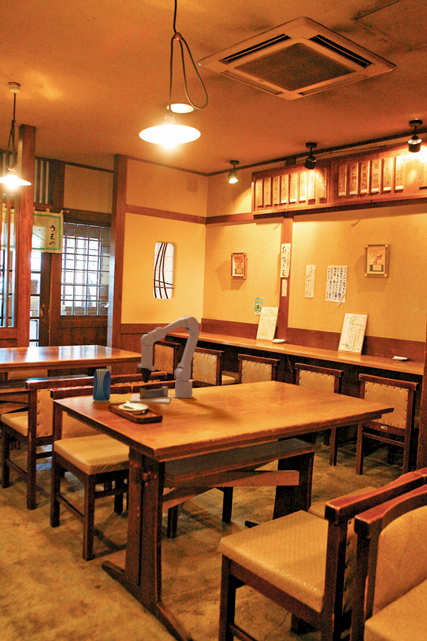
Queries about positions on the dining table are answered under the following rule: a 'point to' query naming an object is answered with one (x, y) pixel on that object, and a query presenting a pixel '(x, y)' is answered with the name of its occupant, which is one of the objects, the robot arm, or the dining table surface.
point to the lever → (154, 392)
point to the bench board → (150, 399)
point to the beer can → (101, 386)
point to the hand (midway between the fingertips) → (145, 382)
